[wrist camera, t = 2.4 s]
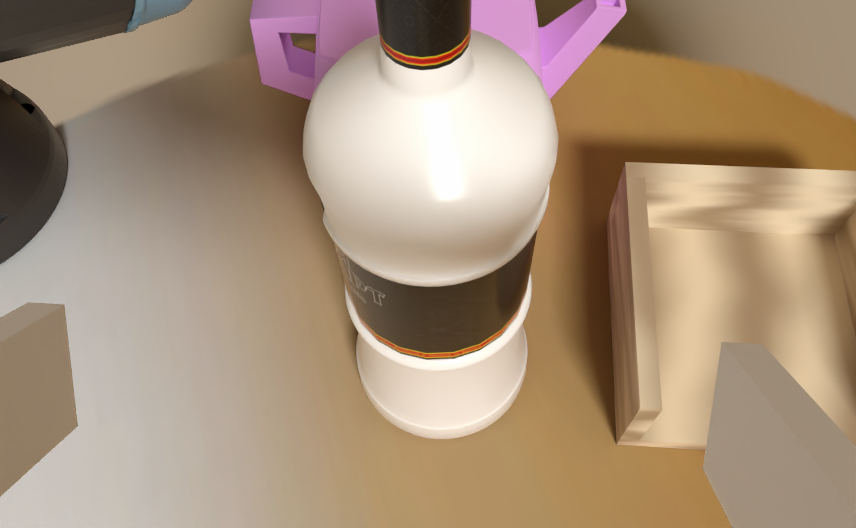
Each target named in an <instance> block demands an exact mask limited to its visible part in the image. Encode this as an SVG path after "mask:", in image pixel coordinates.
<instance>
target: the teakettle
mask: <svg viewBox="0 0 856 528" xmlns="http://www.w3.org/2000/svg"><path fill="white" fill-rule="evenodd" d="M625 13H626V4H625V0H583V1H582V2H580V3H579V4H577V5H576V6H574V7H573V8H571V9H570V10H568V11H567V12H565V13H564V14H562V15H561V16H560V17H558V18H556V19H555V20H553V21H552V22H551V23H549V24H548V25H546V26H545V27H538V20H537V12H536V6H535V0H472V1H471V29H473V30H477V31H480V32H482V33H484V34H486V35H489V36H491V37H493V38H495V39H497V40H499V41H501V42H502V43H504V44H505V45H506V46H508V47H509V48H510V49H512V50H513V51H514V52H516V53H517V54H518V55H520V56H521V57H522V58H523V59H524V60H525V61H526V62H527V63H528V64H529V66H530V67H531V68H532V69H533V70H534V71H535V73H536V74H537V75H538V76H539V78H540V80H541V82H542V84H543V86H544V88H545V90H546V92H547V94H548V96H549V99H551V98H552V97H553V96H554V95H555V93H556V92H557V91H558V90H559V89H560V88H561V87H562V85H563V84H564V83H565V82H566V81H567V80H568V79H569V78H570V76H571V75H572V74H573V73H574V72H575V71H576V70H577V68H578V67H579V66H580V65H581V64H582V63H583V62H584V60H585V59H586V58H587V57H588V56H589V55H590V54H591V52H592V51H593V50H594V49H595V48H596V47H597V46H598V44H599V43H600V42H601V41H602V40H603V39H604V38H605V36H606V35H607V34H608V33H609V32H610V31H611V29H612V28H613V27H614V26H615V25H616V24H617V23H618V22H619V20H620V19H621V18H622V17H623V16H624V15H625ZM250 25H251V30H252V35H253V41H254V46H255V51H256V57H257V62H258V68H259V73H260V78H261V84H264V85H267V86H270V87H273V88H276V89H279V90H282V91H284V92H287V93H290V94H293V95H296V96H299V97H302V98H305V99H308V100H311V99H312V96H313V93H314V91H315V90H316V88H317V86H318V85H319V83H320V82H321V80H322V78H323V77H324V75H325V74H326V73H327V72H328V71H329V70H330V69H331V67H332V66H333V65H334V64H335V63H336V62H337V61H338V60H339V59H340V58H341V57H342V56H343V55H344V54H345V53H346V52H347V51H349V50H350V49H352V48H353V47H355V46H356V45H358V44H359V43H361V42H362V41H364V40H365V39H368V38H370V37H372V36H375V35H377V34H379V28H378V20H377V12H376V4H375V0H253V4H252V9H251V14H250ZM290 33H304V34H316V50H315V53H313V52H311V51H308V50H305V49H302V48H299V47H296V46H293V43H292V39H291V35H290Z"/></svg>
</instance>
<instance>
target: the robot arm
mask: <svg viewBox="0 0 856 528" xmlns="http://www.w3.org/2000/svg"><path fill="white" fill-rule="evenodd" d="M191 1H192V0H0V62H5V61H9V60H13V59H17V58H21V57H25V56H29V55H33V54H37V53H41V52H45V51H49V50H53V49H57V48H61V47H65V46H70V45H74V44H78V43H82V42H86V41H90V40H94V39H97V38H102V37H106V36H110V35H114V34H118V33H122V32H124V33H127V32H131V31H134V30H135V29H137V28H138V26H140V25H143V24H146V23H149V22H151V21H155V20H158V19H161V18H164V17H167V16H170V15H173V14H176V13H178V12H180V11H182V10H183V9H185V8H186V6H188V5H189V4H190V2H191ZM66 174H67V157H66V151H65V147H64V144H63V141H62V139H61V137H60V135H59V134H58V132H57V131H56V129H55V128H54V127H53V125H52V124H51V122H50V121H49V120H48V118H47V117H46V116H45V114H44V113H43V112H42V110H41V109H40V108H39V107H38V106H37V105H36V104H35V103H34V102H33V101H32V100H31V99H29V98H28V97H27V96H25V95H24V94H23V93H21V92H19V91H18V90H16V89H14V88H13V87H11V86H10V85H9V84H7V83H6V82H4V81H2V80H1V79H0V264H1V263H3V262H4V261H6V260H7V259H9V258H10V257H11V256H13V255H14V254H15V253H17V252H18V251H19V250H20V249H21V248H23V247H24V246H25V245H26V244H27V243H28V242H29V241H30V240H31V239H32V238H33V237H34V236H35V235H36V234H37V233H38V232H39V230H40V229H41V228H42V227H43V225H44V224H45V223H46V222H47V220H48V219H49V217H50V216H51V214H52V212H53V211H54V209H55V207H56V205H57V203H58V201H59V199H60V197H61V194H62V191H63V188H64V184H65V180H66ZM77 426H78V424H77V415H76V406H75V397H74V388H73V379H72V370H71V361H70V352H69V343H68V334H67V325H66V316H65V307H64V305H63V304H45V303H27V304H25V305H23V306H21V307H19V308H17V309H16V310H14V311H12V312H10V313H8V314H6V315H5V316H3V317H1V318H0V496H1V495H3V494H4V493H5V492H6V491H7V490H8V489H9V488H10V487H11V486H12V485H14V484H15V483H16V482H17V481H18V480H19V479H20V478H21V477H22V476H23V475H24V474H26V473H27V472H28V471H29V470H30V469H31V468H32V467H33V466H34V465H35V464H37V463H38V462H39V461H40V460H41V459H42V458H43V457H44V456H45V455H46V454H48V453H49V452H50V451H51V450H52V449H53V448H54V447H55V446H56V445H57V444H59V443H60V442H61V441H62V440H63V439H64V438H65V437H66V436H67V435H68V434H70V433H71V432H72V431H73V430H74V429H75V428H76V427H77ZM703 470H704V472H705V474H706V476H707V478H708V480H709V482H710V484H711V486H712V488H713V490H714V492H715V494H716V496H717V498H718V500H719V502H720V504H721V506H722V508H723V510H724V512H725V514H726V516H727V518H728V520H729V522H730V524H731V526H732V528H856V446H855V445H854V444H853V442H852V441H851V440H850V439H849V438H848V437H847V436H846V435H845V434H844V433H843V431H842V430H841V429H840V428H839V427H838V426H837V425H836V424H835V423H834V422H833V421H832V419H831V418H830V417H829V416H828V415H827V414H826V413H825V412H824V411H823V410H822V409H821V407H820V406H819V405H818V404H817V403H816V402H815V401H814V400H813V399H812V398H811V397H810V395H809V394H808V393H807V392H806V391H805V390H804V389H803V388H802V387H801V386H800V384H799V383H798V382H797V381H796V380H795V379H794V378H793V377H792V376H791V375H790V374H789V372H788V371H787V370H786V369H785V368H784V367H783V366H782V365H781V364H780V363H779V362H778V360H777V359H776V358H775V357H774V356H773V355H772V354H771V353H770V352H769V351H768V349H767V348H766V347H765V346H764V345H763V344H751V343H733V342H722V343H721V350H720V356H719V363H718V370H717V377H716V383H715V390H714V397H713V404H712V411H711V417H710V424H709V431H708V438H707V444H706V451H705V458H704V465H703Z"/></svg>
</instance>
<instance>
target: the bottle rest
mask: <svg viewBox="0 0 856 528" xmlns="http://www.w3.org/2000/svg"><path fill="white" fill-rule="evenodd" d="M607 239H608V262H609V285H610V308H611V331H612V354H613V377H614V400H615V423H616V444H620V445H635V446H650V447H665V448H681V449H696V450H706V444H707V438H708V431H709V424H710V417H711V411H712V404H713V397H714V390H715V383H716V377H717V370H718V363H719V356H720V350H721V343H722V342H733V343H751V344H763V345H764V346H765V347H766V348H767V349H768V351H769V352H770V353H771V354H772V355H773V356H774V357H775V358H776V359H777V360H778V362H779V363H780V364H781V365H782V366H783V367H784V368H785V369H786V370H787V371H788V372H789V374H790V375H791V376H792V377H793V378H794V379H795V380H796V381H797V382H798V383H799V384H800V386H801V387H802V388H803V389H804V390H805V391H806V392H807V393H808V394H809V395H810V397H811V398H812V399H813V400H814V401H815V402H816V403H817V404H818V405H819V406H820V407H821V409H822V410H823V411H824V412H825V413H826V414H827V415H828V416H829V417H830V418H831V419H832V421H833V422H834V423H835V424H836V425H837V426H838V427H839V428H840V429H841V430H842V431H843V433H844V434H845V435H846V436H847V437H848V438H849V439H850V440H851V441H852V442H853V444H854V445H855V446H856V171H841V170H816V169H791V168H766V167H740V166H715V165H690V164H665V163H640V162H625V165H624V168H623V171H622V174H621V177H620V180H619V183H618V187H617V190H616V193H615V196H614V199H613V202H612V205H611V209H610V212H609V215H608V218H607Z"/></svg>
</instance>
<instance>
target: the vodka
mask: <svg viewBox="0 0 856 528" xmlns="http://www.w3.org/2000/svg"><path fill="white" fill-rule="evenodd" d="M471 1H472V0H375V4H376V12H377V20H378V28H379V34H377V35H375V36H372V37H370V38H368V39H365V40H364V41H362V42H361V43H359V44H358V45H356V46H355V47H353V48H352V49H350V50H349V51H347V52H346V53H345V54H344V55H343V56H342V57H341V58H340V59H339V60H338V61H337V62H336V63H335V64H334V65H333V66H332V67H331V69H330V70H329V71H328V72H327V73H326V74H325V75H324V77H323V78H322V80H321V82H320V83H319V85H318V86H317V88H316V90H315V91H314V93H313V96H312V99H311V102H310V105H309V109H308V112H307V115H306V120H305V125H304V131H303V158H304V162H305V166H306V169H307V173H308V177H309V179H310V181H311V183H312V184H313V186H314V188H315V189H316V191H317V193H318V194H319V196H320V199H321V203H322V206H323V210H324V215H323V223H324V225H325V227H326V229H327V231H328V233H329V234H330V236H331V237H332V240H333V244H334V247H335V251H336V254H337V258H338V261H339V265H340V268H341V272H342V275H343V278H344V282H345V299H346V304H347V308H348V312H349V315H350V317H351V320H352V322H353V324H354V326H355V327H356V329H357V331H358V332H359V333H358V337H357V344H356V358H357V366H358V370H359V374H360V378H361V382H362V385H363V388H364V390H365V392H366V395H367V397H368V398H369V400H370V401H371V403H372V405H373V406H374V407H375V408H376V410H377V411H378V412H379V413H380V414H381V415H382V416H383V417H384V418H385V419H387V420H388V421H389V422H391V423H392V424H393V425H395V426H397V427H398V428H400V429H402V430H404V431H406V432H409V433H411V434H414V435H417V436H421V437H426V438H433V439H451V438H458V437H462V436H466V435H470V434H472V433H475V432H478V431H480V430H482V429H484V428H486V427H487V426H489V425H491V424H492V423H494V422H495V421H496V420H497V419H499V418H500V417H501V416H502V415H503V414H504V413H505V412H506V411H507V410H508V409H509V407H510V406H511V405H512V403H513V402H514V400H515V398H516V397H517V395H518V393H519V391H520V389H521V386H522V383H523V380H524V377H525V372H526V363H527V354H528V349H527V338H526V333H525V329H524V326H523V321H524V319H525V317H526V314H527V312H528V309H529V305H530V301H531V295H532V279H531V273H530V269H531V263H532V257H533V251H534V245H535V240H536V234H537V228H538V226H539V225H540V223H541V221H542V218H543V216H544V213H545V210H546V207H547V203H548V197H549V183H550V180H551V177H552V174H553V171H554V167H555V163H556V157H557V147H558V137H559V136H558V131H557V126H556V121H555V116H554V112H553V108H552V104H551V101H550V99H549V96H548V94H547V92H546V90H545V88H544V86H543V84H542V82H541V80H540V78H539V76H538V75H537V74H536V73H535V71H534V70H533V69H532V68H531V67H530V66H529V64H528V63H527V62H526V61H525V60H524V59H523V58H522V57H521V56H520V55H518V54H517V53H516V52H514V51H513V50H512V49H510V48H509V47H508V46H506V45H505V44H504V43H502V42H501V41H499V40H497V39H495V38H493V37H491V36H489V35H486V34H484V33H482V32H480V31H477V30H473V29H471Z"/></svg>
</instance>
